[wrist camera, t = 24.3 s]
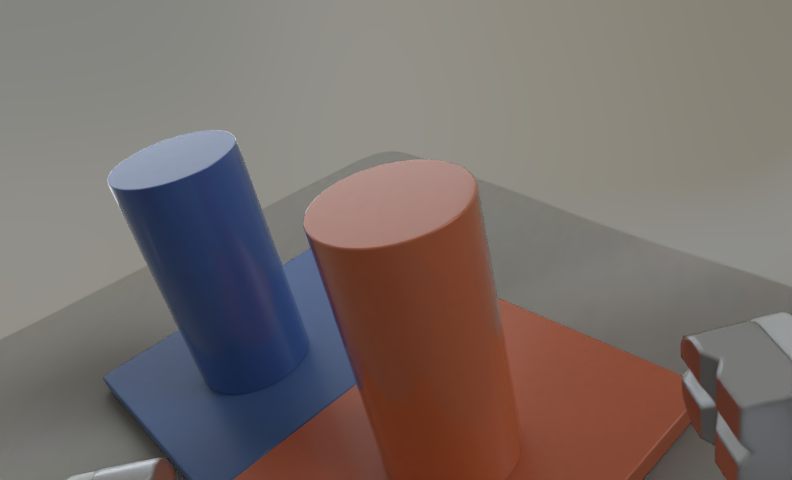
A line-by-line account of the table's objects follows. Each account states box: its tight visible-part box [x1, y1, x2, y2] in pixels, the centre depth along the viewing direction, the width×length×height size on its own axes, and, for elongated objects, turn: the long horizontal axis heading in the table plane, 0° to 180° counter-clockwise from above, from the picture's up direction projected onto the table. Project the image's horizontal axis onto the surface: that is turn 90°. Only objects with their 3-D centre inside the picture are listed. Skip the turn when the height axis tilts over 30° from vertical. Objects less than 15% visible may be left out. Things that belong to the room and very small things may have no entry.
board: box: [103, 248, 691, 480], centre depth 31 cm, size 24×16×1 cm, turn 42°
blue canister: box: [107, 130, 309, 395], centre depth 32 cm, size 6×6×11 cm
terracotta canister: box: [303, 159, 523, 480], centre depth 24 cm, size 6×6×11 cm
